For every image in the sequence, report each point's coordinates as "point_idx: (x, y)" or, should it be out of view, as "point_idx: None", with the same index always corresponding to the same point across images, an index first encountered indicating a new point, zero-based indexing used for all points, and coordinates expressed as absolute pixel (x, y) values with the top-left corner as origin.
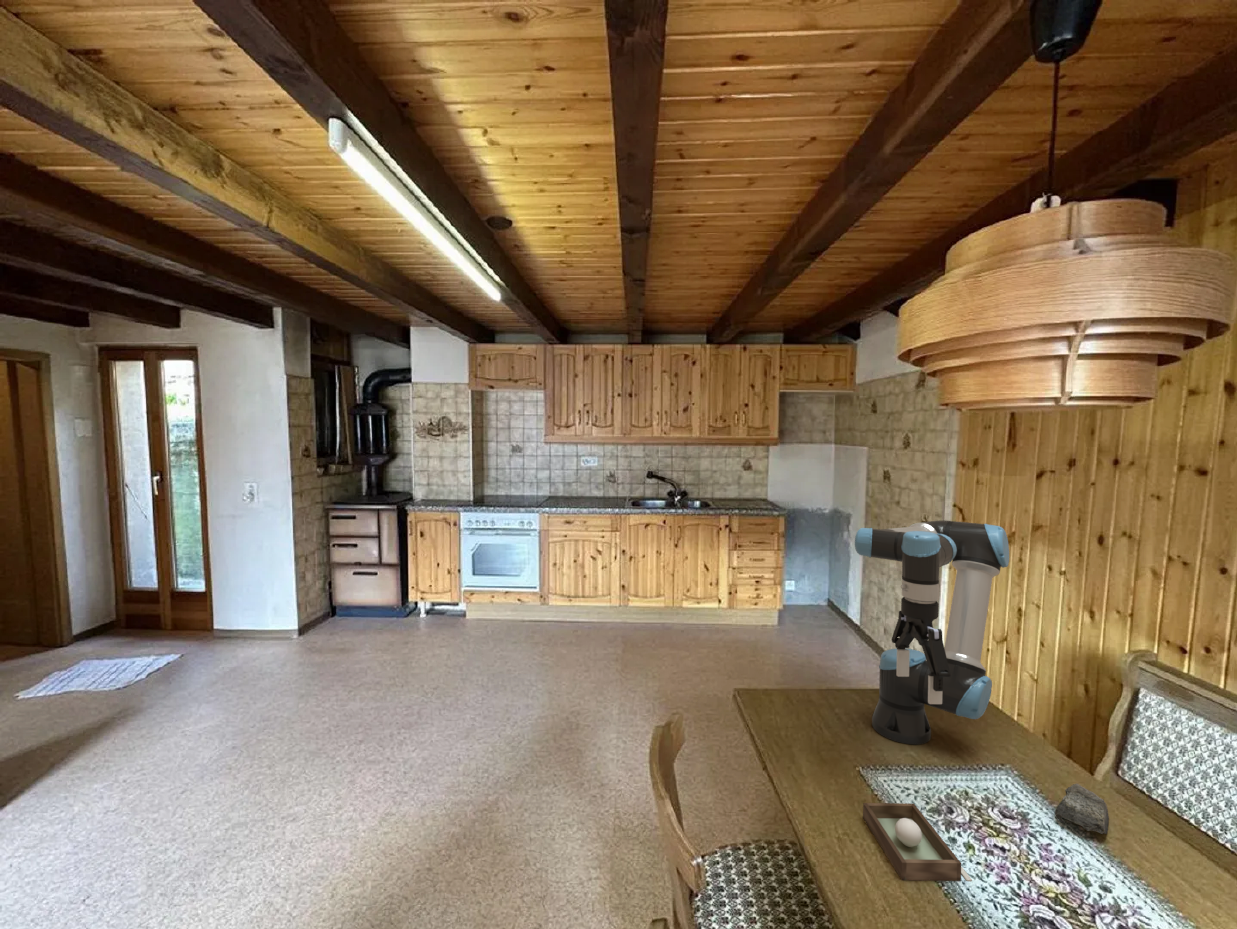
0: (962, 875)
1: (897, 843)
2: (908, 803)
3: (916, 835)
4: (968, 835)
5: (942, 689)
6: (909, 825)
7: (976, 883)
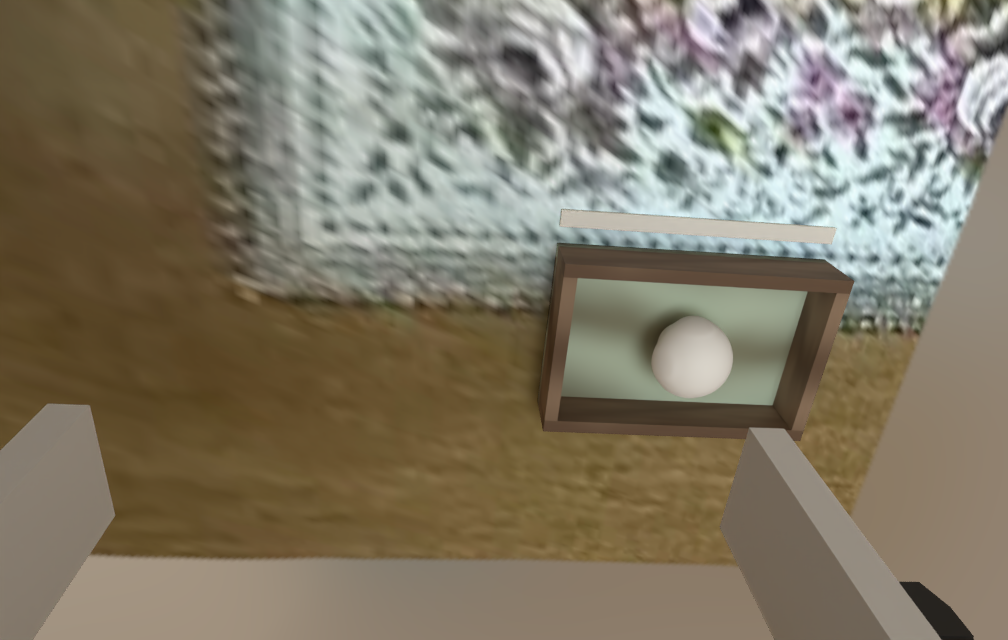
0: (810, 241)
1: None
2: (563, 284)
3: (732, 360)
4: (663, 90)
5: (950, 611)
6: (718, 382)
7: (844, 218)
